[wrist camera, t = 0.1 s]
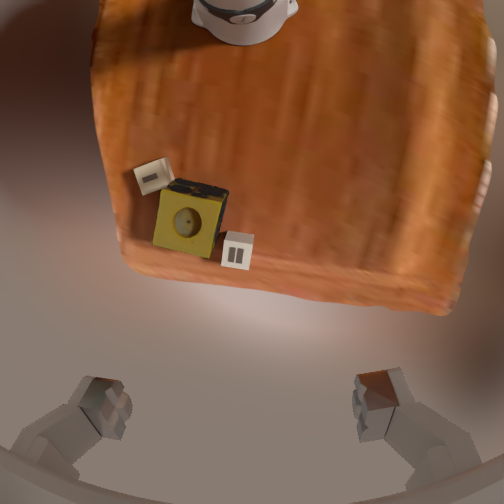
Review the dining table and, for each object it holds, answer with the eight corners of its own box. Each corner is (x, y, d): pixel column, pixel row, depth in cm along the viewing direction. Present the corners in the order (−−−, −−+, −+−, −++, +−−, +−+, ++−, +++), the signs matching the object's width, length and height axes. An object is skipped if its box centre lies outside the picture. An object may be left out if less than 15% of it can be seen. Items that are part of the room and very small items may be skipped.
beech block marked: (144, 165, 54) (132, 169, 49) (167, 156, 53) (157, 159, 48) (152, 189, 56) (142, 195, 51) (175, 181, 55) (167, 187, 50)
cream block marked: (228, 230, 58) (224, 240, 53) (254, 234, 58) (252, 244, 53) (224, 254, 60) (220, 266, 55) (250, 258, 60) (248, 270, 55)
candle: (168, 226, 58) (150, 246, 49) (177, 176, 55) (158, 187, 45) (218, 239, 59) (209, 261, 50) (230, 189, 55) (222, 202, 46)
